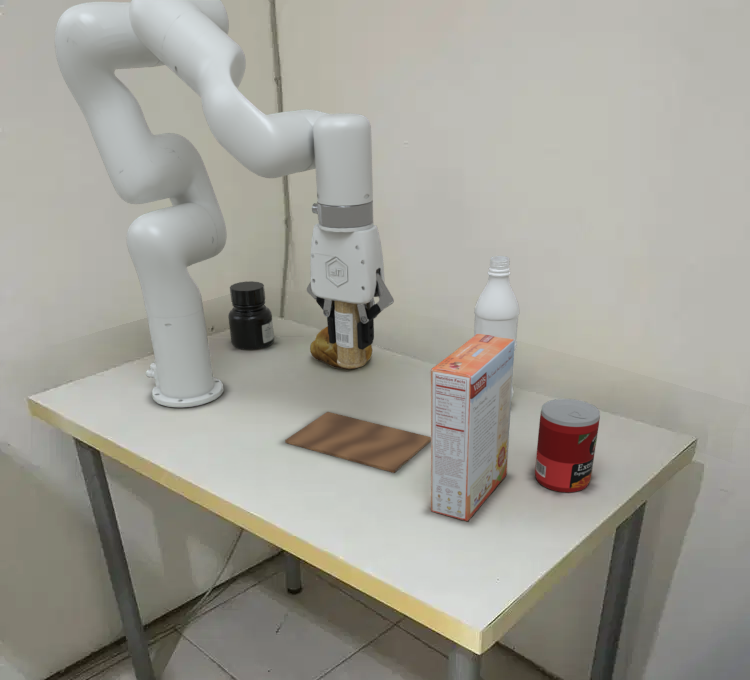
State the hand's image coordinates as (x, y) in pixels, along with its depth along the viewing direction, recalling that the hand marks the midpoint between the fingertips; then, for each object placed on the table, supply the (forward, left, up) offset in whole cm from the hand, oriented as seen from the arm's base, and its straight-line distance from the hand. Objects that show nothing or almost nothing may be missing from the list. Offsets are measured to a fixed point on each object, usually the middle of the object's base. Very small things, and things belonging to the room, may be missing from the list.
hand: (351, 342), depth 115 cm
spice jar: (0, 0, -4) cm, 4 cm away
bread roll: (-20, +27, -16) cm, 37 cm away
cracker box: (+23, -6, -16) cm, 29 cm away
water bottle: (+14, +22, -16) cm, 30 cm away
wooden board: (+1, 0, -16) cm, 16 cm away
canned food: (+33, +4, -16) cm, 37 cm away
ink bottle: (-42, +27, -16) cm, 52 cm away
